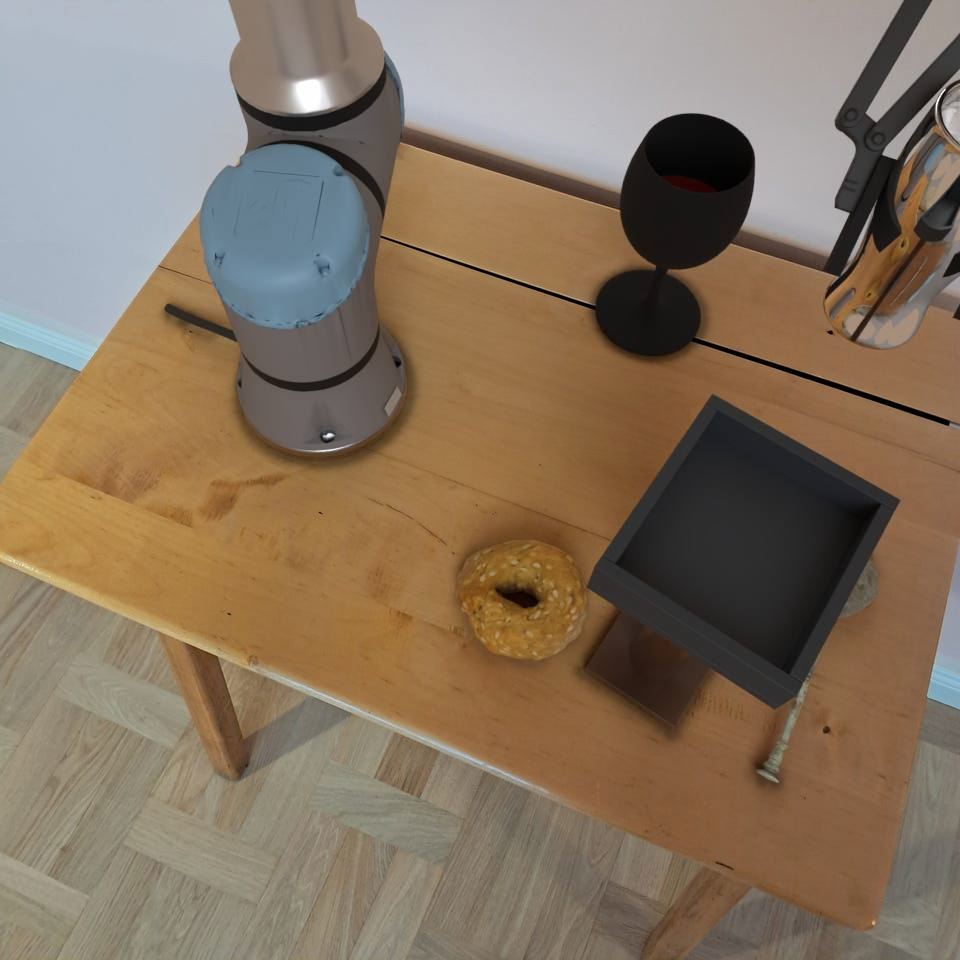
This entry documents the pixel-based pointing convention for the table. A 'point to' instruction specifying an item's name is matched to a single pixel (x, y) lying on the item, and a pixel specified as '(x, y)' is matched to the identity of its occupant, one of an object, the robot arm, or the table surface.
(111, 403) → the table surface
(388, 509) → the table surface
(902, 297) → the silver metal cup
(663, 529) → the tray
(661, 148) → the wine glass
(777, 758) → the soupspoon
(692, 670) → the stand
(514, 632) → the bagel
